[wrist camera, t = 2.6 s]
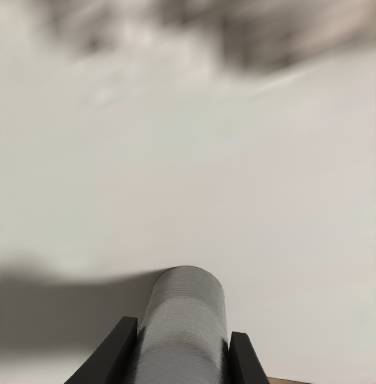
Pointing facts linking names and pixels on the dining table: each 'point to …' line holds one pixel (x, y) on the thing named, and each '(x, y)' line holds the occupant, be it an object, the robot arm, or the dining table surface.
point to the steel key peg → (182, 332)
